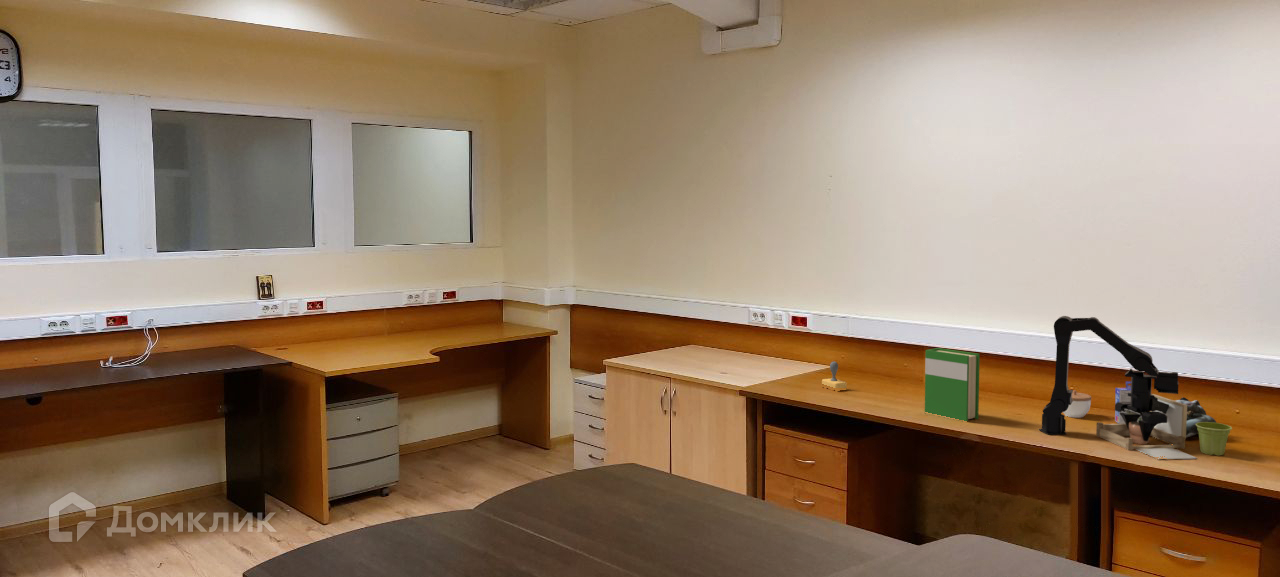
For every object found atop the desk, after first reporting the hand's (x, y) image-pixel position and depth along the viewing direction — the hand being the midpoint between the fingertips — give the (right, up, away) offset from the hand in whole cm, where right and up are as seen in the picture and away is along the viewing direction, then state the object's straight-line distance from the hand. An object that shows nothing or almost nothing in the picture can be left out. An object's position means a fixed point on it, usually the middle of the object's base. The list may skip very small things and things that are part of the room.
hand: (1139, 438), depth 282 cm
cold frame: (0, -1, 0) cm, 1 cm away
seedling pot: (0, -1, 0) cm, 1 cm away
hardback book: (-47, +1, +39) cm, 61 cm away
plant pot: (+15, -2, -14) cm, 20 cm away
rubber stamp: (-79, +5, +90) cm, 120 cm away
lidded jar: (-3, +2, +36) cm, 37 cm away
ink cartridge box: (+12, +1, +25) cm, 28 cm away
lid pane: (+9, +2, 0) cm, 9 cm away
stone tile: (0, -3, -14) cm, 15 cm away
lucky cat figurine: (+20, -1, +7) cm, 21 cm away
